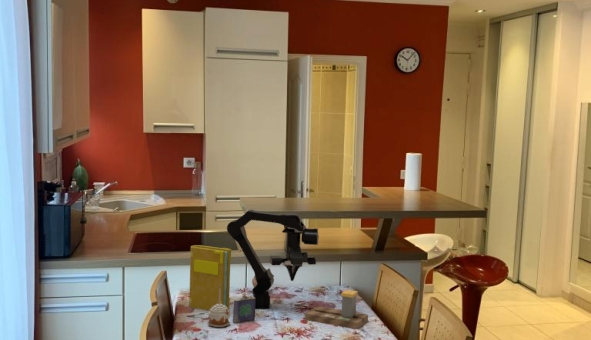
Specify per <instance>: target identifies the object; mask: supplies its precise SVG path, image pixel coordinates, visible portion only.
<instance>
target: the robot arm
mask: <svg viewBox="0 0 591 340" xmlns="http://www.w3.org/2000/svg"><path fill="white" fill-rule="evenodd" d="M302 220H303V218H302V216H301V214H299V212H287V213H286V212H285V213H275V212H268V211H259V210H255V209H250V210H247V211H246V212H245V213H244V214H243V215H241V216H240V217H239V218H237V219H233V220H232V221H230V222H229V223H228V224H227V226H226V230H227V233H228V234H229V235H230V237H231V238H232V239H233V240H234V241H236V243H237V244H238V245H239V248H240V249H241V251H242V253H243V254H244V256H245V258H246V260H247V262H248V264H249V265H250V267H251V269H252V270H253V272H254V276H255V278H256V282H257V285H256V286H255V287H254V286H253V288H252V297H255V298H256V305H255V310H257V309H258V310H259V309H261V310H262V309H270V305H271V295H270V292H269V290H270V289H271V288H272V286H273V285H274V282H275V279H274V277H275V275H274V274H273V273H272V271H271V268H270V267H268V268H266V267H265V266H264V265H263V263H262V262H261V260H260V258H259V257H258V255H257V252H256V251H255V250H254V247H253V246H252V244H251V242H250V240H249V238H248V236H247V235H248V234H247V231H246V228H245V226H246V225H247V224H248V223H250V222H251V221H257V222H266V223H272V224H273V223H274V224H279V225H282V226H284V227H285V228H284V229H283V230H282V231H281V233H285V234H286V243H285V250H286V251H285V252H286V253H285V257H281V256H280V255H270V256H269V261H268V262H269V263H270V265H271V266H280V265H283V266H284V267H285V268H286V270H287V273H288V275H289V279H290V281H291V282H294V280H295V277H296V276H297V273H298V270H299V269H300V268H301V267H303V265H304V264H303V263H307V264H308V265H309V266H310V265H316V264H317V258H316V257H315V256H313V255H312V254H310V255H309V254H308V252H307V251H305V252H304V251H303V252H302V249H301V248H302V247H301V242H302V243H303V244H304V245H310V246H311V245H313V246H318V245H319V239H320V238H319V237H320V235H319V228H315V227H314V228H309V227H307V226H306V225H305V223H304V222H303V221H302Z"/></svg>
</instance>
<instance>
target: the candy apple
mask: <svg viewBox="0 0 591 340" xmlns="http://www.w3.org/2000/svg"><path fill="white" fill-rule="evenodd" d="M220 300H221V286H219V304H216V305H215V306H213V307H212V308H211V309H210V311H208V314H207V315H208V317H207V319H209V321H207V323H208V326H211V327H216V328H224V327H226V326H229V325H230V324H231V323H230V320H229V319H230V317H231V313H230V312H231V311H230V310H228V308H227V307H226V306H225V305H222V304H220Z"/></svg>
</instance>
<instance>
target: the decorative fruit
mask: <svg viewBox="0 0 591 340" xmlns="http://www.w3.org/2000/svg"><path fill="white" fill-rule="evenodd" d="M251 283H252V287H253V288H254V287H255V286H256V285H257V282H256V278H255V275H254V276H253V277H252V279H251Z"/></svg>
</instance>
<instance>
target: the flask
mask: <svg viewBox="0 0 591 340" xmlns="http://www.w3.org/2000/svg"><path fill="white" fill-rule="evenodd" d="M255 305H256V298H255V297H253V296H250V295H249V296H247V295H246V293H242V296H241V297H240V298H235V299H233V307H232V308H233V312H232V313H233V315H232V316H233V317H232V323H234V324H241V323H247V322H254V321H255V319H256V309H255Z"/></svg>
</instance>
